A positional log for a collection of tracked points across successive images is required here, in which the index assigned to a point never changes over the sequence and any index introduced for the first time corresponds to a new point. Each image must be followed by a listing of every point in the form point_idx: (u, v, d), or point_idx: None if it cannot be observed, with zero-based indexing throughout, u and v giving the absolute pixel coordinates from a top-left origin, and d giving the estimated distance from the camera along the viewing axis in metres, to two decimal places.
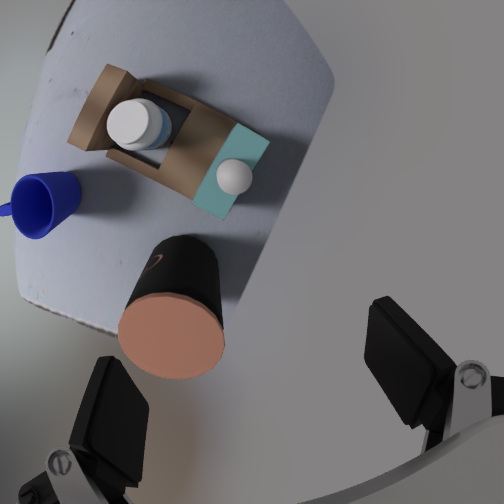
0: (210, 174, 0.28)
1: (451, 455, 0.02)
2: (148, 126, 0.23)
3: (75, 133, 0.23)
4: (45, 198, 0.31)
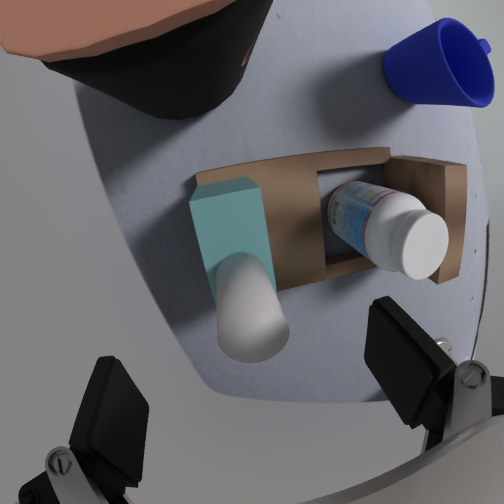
0: (265, 249, 0.16)
1: (451, 455, 0.02)
2: (398, 259, 0.15)
3: (461, 181, 0.16)
4: None
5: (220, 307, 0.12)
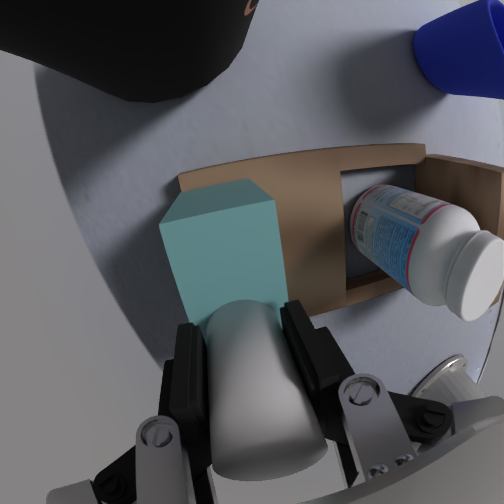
0: (280, 294, 0.10)
1: (451, 455, 0.02)
2: (455, 300, 0.10)
3: None
4: None
5: (214, 416, 0.06)
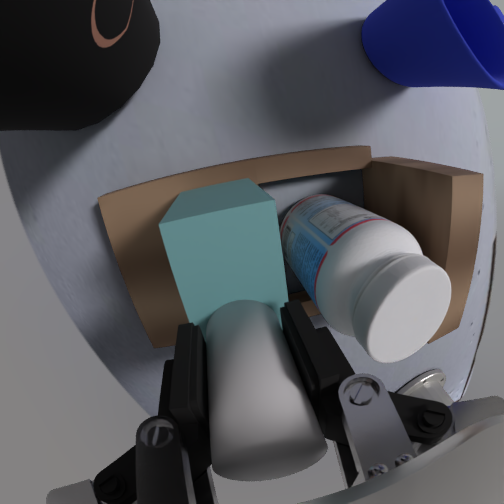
0: (280, 295, 0.10)
1: (451, 455, 0.02)
2: (361, 340, 0.09)
3: (476, 199, 0.10)
4: None
5: (213, 416, 0.06)
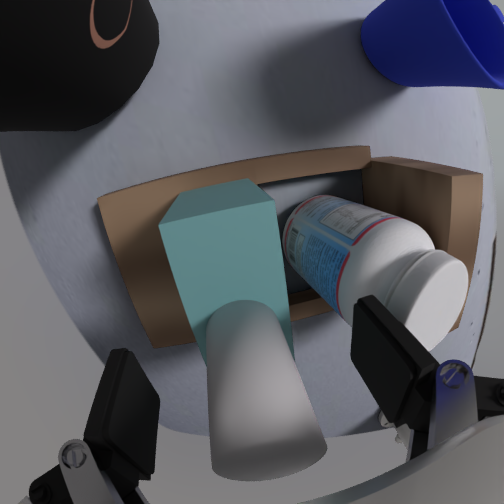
0: (279, 294, 0.10)
1: (451, 455, 0.02)
2: None
3: (475, 199, 0.10)
4: None
5: (213, 416, 0.06)
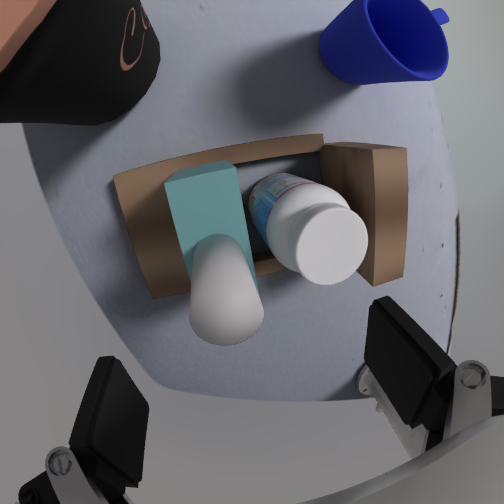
0: (242, 230, 0.16)
1: (451, 455, 0.02)
2: (294, 262, 0.15)
3: (399, 167, 0.16)
4: None
5: (193, 288, 0.11)
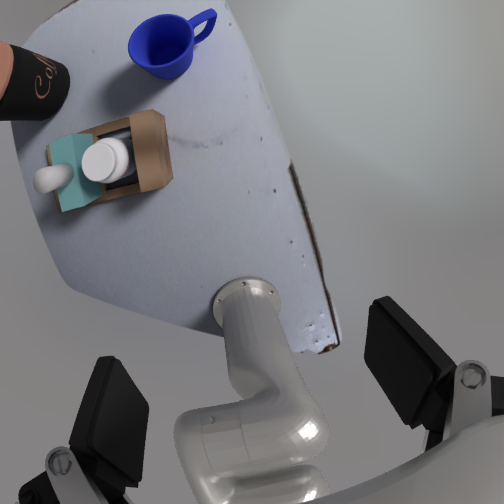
0: (73, 160, 0.28)
1: (451, 455, 0.02)
2: None
3: (147, 120, 0.28)
4: (183, 46, 0.29)
5: None
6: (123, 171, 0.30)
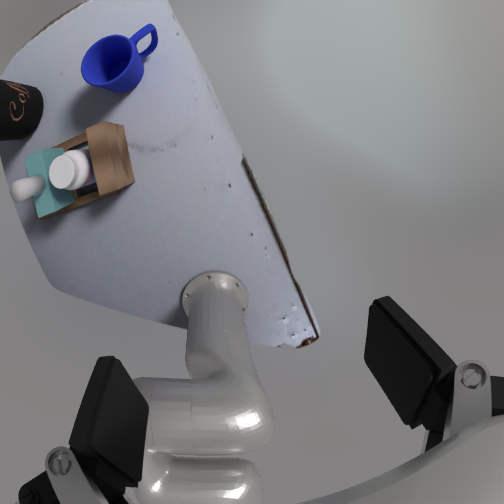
0: (44, 172, 0.30)
1: (451, 455, 0.02)
2: None
3: (100, 131, 0.30)
4: None
5: None
6: (84, 178, 0.32)
